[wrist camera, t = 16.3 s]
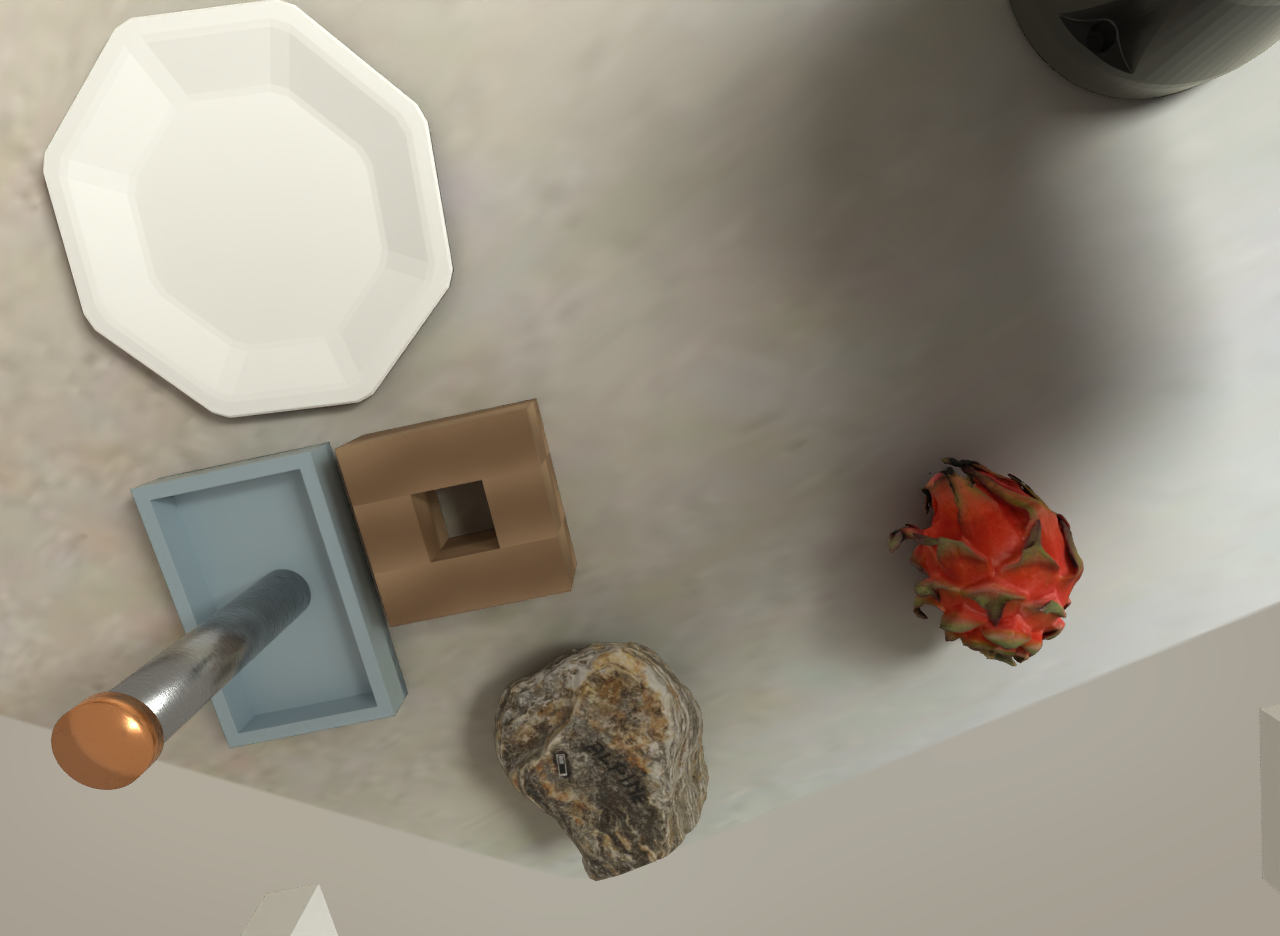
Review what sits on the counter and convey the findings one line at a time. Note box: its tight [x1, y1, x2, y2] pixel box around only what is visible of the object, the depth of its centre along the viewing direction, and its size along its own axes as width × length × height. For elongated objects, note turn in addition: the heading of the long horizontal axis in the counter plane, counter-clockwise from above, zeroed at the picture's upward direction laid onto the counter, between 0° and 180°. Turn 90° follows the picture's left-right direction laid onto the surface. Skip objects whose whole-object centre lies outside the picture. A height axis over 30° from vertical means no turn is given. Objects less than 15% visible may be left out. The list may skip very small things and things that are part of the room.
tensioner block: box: [335, 399, 577, 627], centre depth 40 cm, size 10×10×4 cm
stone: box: [494, 642, 709, 881], centre depth 42 cm, size 14×10×10 cm
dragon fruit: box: [888, 458, 1083, 666], centre depth 39 cm, size 8×8×12 cm
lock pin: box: [51, 569, 311, 790], centre depth 35 cm, size 4×4×15 cm
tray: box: [130, 442, 408, 748], centre depth 42 cm, size 16×10×2 cm, turn 12°
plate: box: [43, 0, 454, 418], centre depth 38 cm, size 20×20×2 cm
